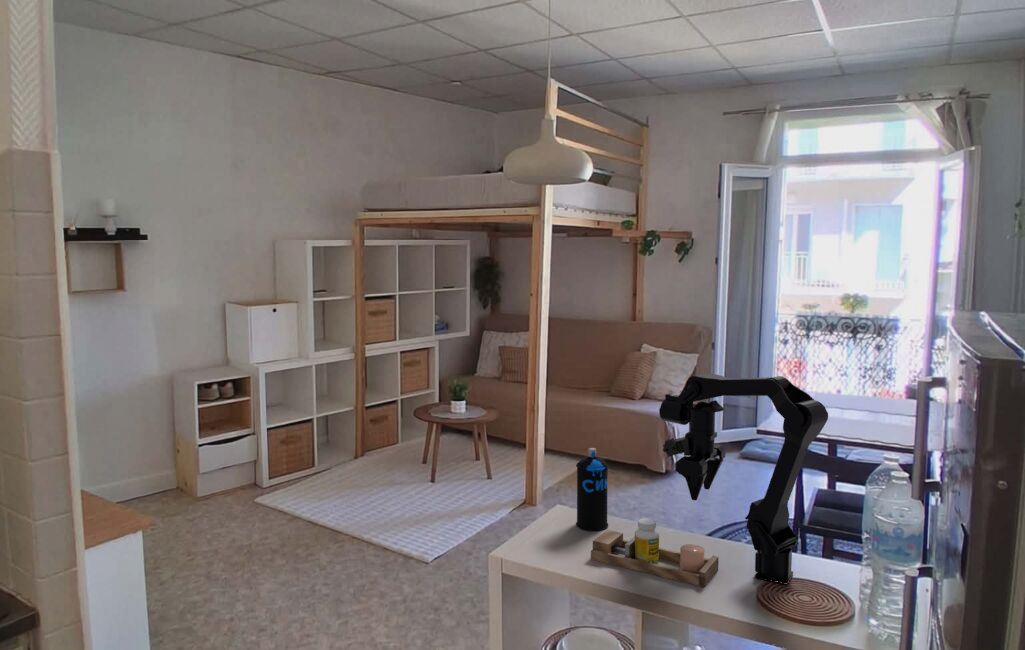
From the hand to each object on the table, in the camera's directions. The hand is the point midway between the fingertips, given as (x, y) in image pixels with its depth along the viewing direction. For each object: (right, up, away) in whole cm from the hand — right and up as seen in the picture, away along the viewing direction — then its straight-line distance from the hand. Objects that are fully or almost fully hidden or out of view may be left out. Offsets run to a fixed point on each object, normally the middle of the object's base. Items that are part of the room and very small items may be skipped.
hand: (700, 494), depth 161 cm
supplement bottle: (-14, -14, -7) cm, 21 cm away
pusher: (-19, -13, -3) cm, 23 cm away
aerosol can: (-23, -12, +16) cm, 31 cm away
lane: (-13, -14, -7) cm, 20 cm away
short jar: (-5, -14, -12) cm, 19 cm away
